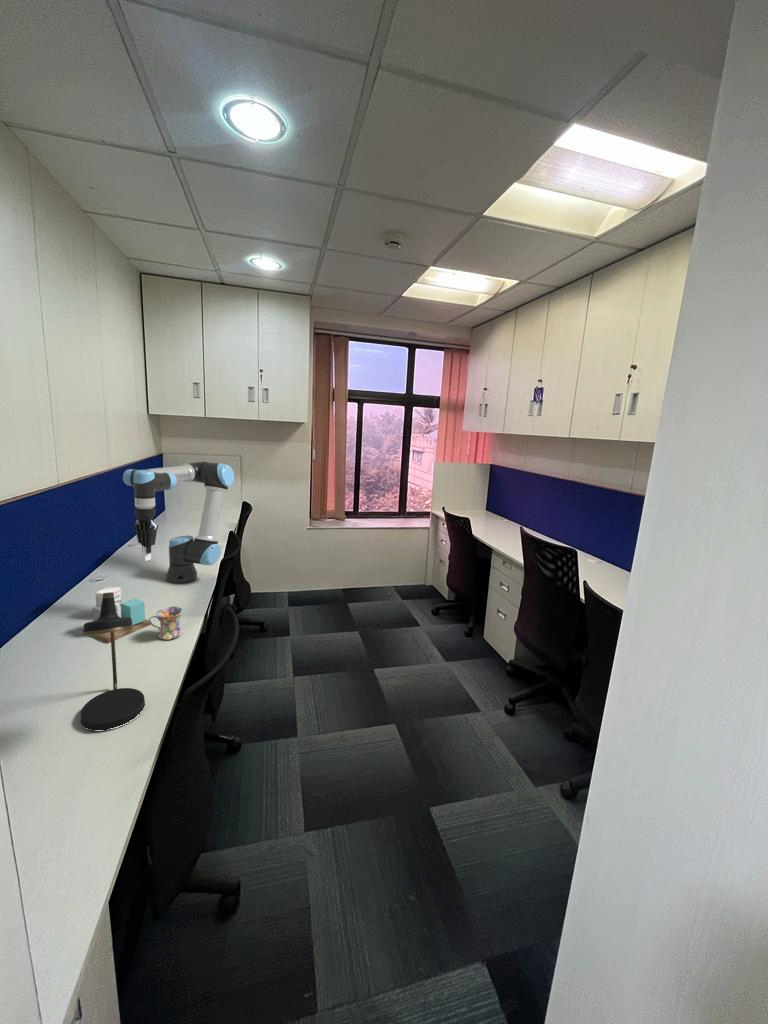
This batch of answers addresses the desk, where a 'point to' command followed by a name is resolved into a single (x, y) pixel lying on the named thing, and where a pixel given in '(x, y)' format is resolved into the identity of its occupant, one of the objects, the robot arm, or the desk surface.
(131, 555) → the desk surface
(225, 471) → the robot arm
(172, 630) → the mug
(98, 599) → the ink box
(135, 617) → the teal foam cube
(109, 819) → the desk surface
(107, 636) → the stand
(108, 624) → the lamp
